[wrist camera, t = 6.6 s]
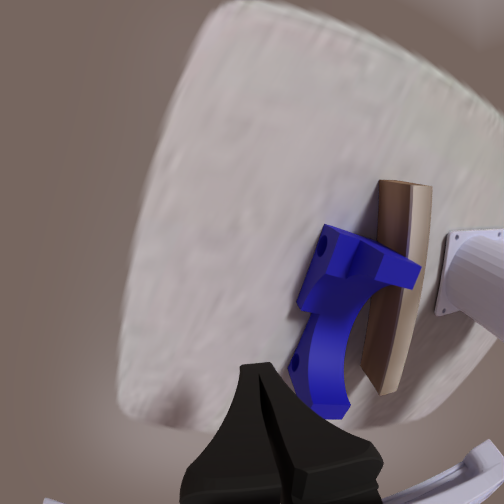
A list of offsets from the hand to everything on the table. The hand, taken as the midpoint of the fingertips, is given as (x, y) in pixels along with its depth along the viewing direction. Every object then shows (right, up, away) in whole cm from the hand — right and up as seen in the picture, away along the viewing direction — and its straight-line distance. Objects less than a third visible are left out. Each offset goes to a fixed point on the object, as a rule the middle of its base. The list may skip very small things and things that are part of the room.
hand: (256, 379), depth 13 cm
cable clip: (+5, +2, +10) cm, 11 cm away
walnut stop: (+10, +3, +9) cm, 14 cm away
